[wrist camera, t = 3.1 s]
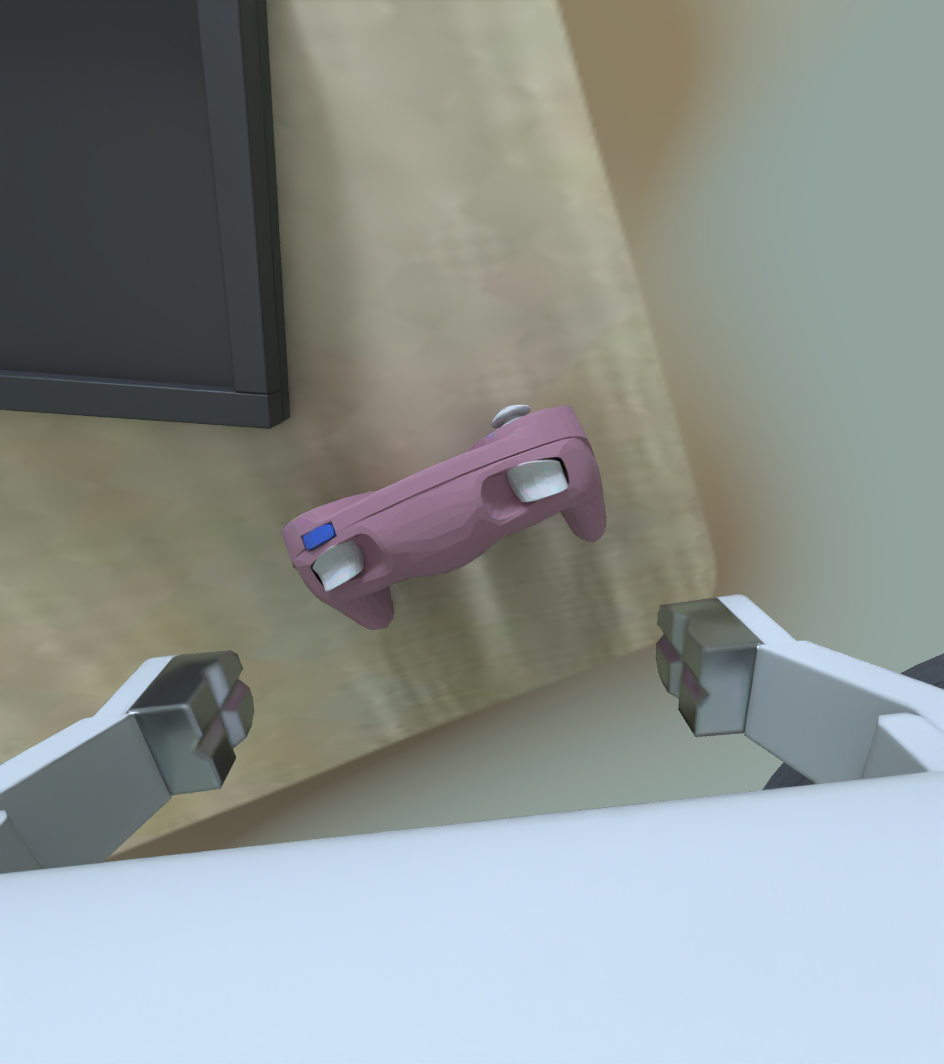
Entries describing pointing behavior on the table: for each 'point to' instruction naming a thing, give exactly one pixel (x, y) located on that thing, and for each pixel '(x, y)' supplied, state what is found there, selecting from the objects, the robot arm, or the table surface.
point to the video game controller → (449, 512)
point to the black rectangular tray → (140, 212)
